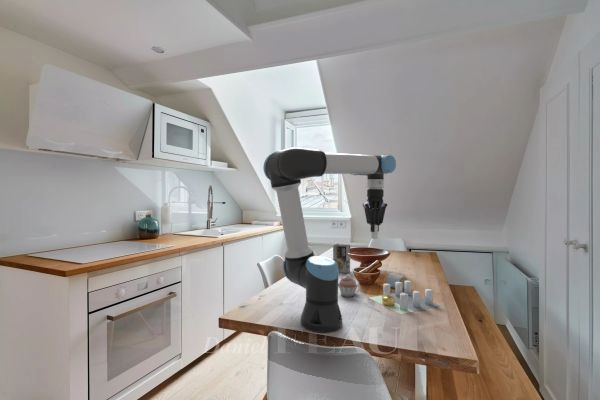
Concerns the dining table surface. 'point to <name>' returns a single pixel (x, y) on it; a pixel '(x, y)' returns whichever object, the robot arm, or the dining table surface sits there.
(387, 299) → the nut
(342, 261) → the coffee box
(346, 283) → the cupcake
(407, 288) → the tray
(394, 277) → the ceramic mug
